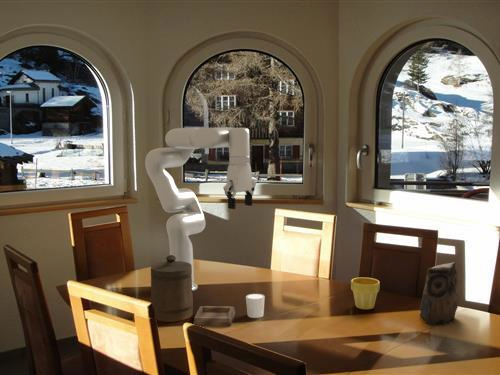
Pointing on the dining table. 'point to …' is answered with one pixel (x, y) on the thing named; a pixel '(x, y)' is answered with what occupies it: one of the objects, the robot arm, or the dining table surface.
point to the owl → (440, 295)
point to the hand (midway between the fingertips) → (240, 207)
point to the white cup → (255, 305)
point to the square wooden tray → (214, 316)
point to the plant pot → (365, 292)
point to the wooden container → (172, 290)
